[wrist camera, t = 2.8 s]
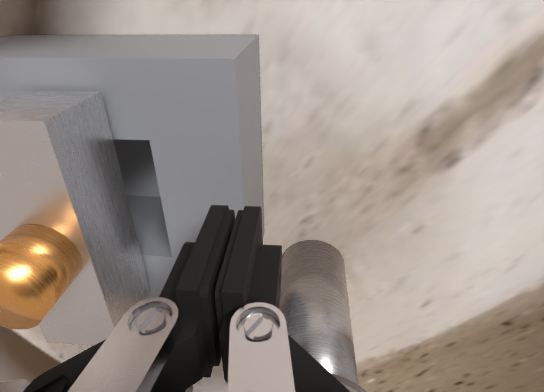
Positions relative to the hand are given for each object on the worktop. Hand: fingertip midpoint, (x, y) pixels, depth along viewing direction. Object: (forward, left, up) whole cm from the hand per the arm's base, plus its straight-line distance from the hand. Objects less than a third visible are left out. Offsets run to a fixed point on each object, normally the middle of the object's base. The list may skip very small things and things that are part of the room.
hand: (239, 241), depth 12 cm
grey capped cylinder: (-3, +8, -8) cm, 12 cm away
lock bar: (+6, 0, -2) cm, 6 cm away
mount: (+6, 0, -8) cm, 10 cm away
